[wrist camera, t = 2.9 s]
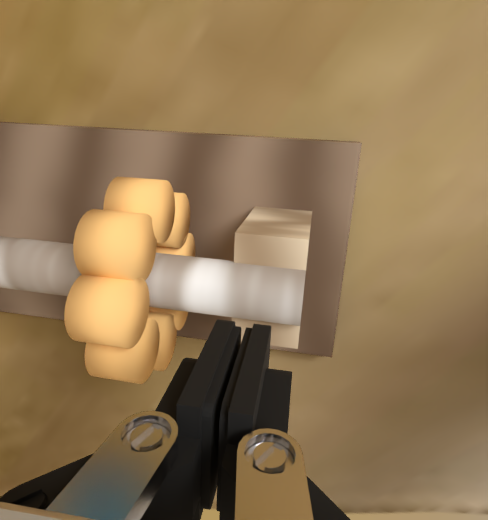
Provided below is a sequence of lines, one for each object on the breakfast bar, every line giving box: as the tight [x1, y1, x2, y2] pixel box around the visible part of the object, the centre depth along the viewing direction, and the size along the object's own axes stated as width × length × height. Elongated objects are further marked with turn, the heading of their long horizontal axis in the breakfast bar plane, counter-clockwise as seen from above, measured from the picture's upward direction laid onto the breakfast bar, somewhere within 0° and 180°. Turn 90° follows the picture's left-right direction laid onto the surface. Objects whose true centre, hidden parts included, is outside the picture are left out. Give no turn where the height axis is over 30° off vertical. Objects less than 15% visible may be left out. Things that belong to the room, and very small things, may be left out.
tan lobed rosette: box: [64, 177, 195, 384], centre depth 18 cm, size 2×9×9 cm, turn 177°
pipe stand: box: [0, 122, 362, 357], centre depth 21 cm, size 30×12×8 cm, turn 87°
